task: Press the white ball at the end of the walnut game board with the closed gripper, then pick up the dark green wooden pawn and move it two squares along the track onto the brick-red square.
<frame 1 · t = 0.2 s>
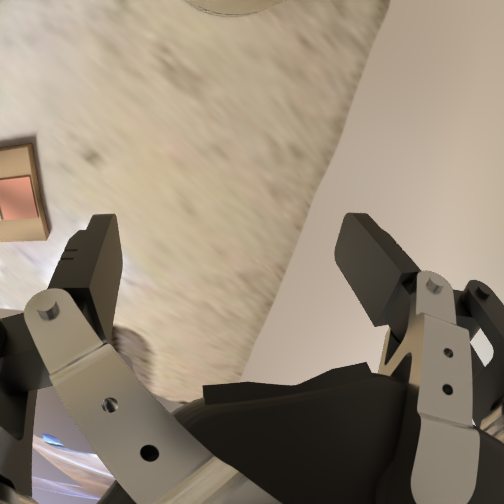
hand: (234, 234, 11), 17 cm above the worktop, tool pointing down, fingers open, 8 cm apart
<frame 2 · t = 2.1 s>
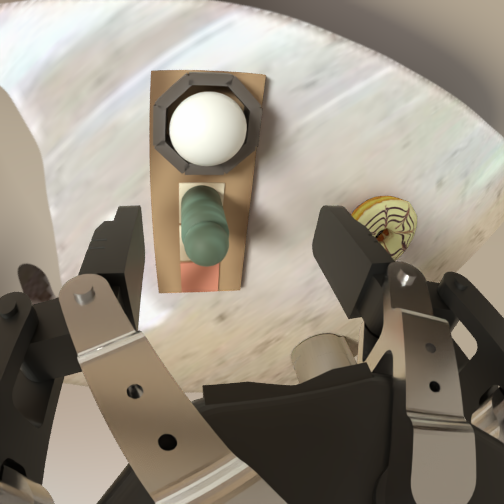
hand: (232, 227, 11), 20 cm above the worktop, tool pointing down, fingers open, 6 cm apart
game board: (200, 193, 31), on the worktop
pawn: (201, 203, 30), point 1 cm above the worktop, touching game board
decorated donut: (372, 225, 38), on the worktop
white ball: (207, 128, 23), point 5 cm above the worktop, slide at 0.0 cm
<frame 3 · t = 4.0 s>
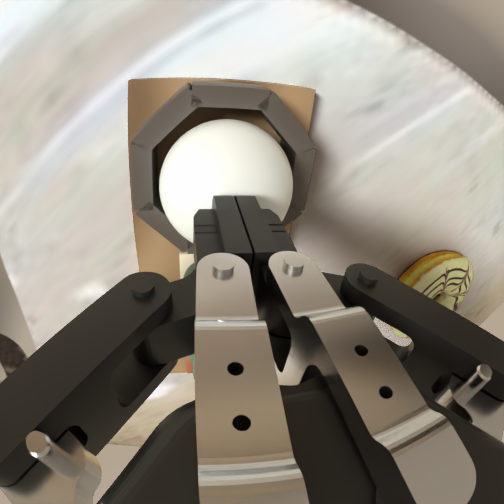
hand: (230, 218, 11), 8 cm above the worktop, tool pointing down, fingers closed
game board: (210, 263, 22), on the worktop
decorated donut: (421, 282, 29), on the worktop
white ball: (225, 184, 14), point 5 cm above the worktop, slide at 0.3 cm, touching gripper
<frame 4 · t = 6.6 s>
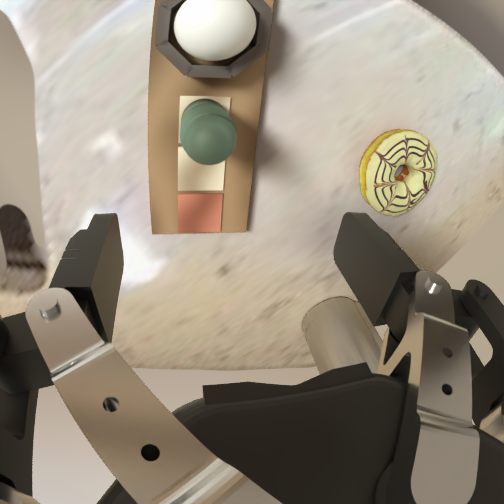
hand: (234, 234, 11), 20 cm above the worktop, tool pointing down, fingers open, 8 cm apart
game board: (203, 112, 26), on the worktop
pawn: (203, 120, 25), point 1 cm above the worktop, touching game board
decorated donut: (390, 165, 33), on the worktop
white ball: (215, 24, 18), point 5 cm above the worktop, slide at 0.3 cm
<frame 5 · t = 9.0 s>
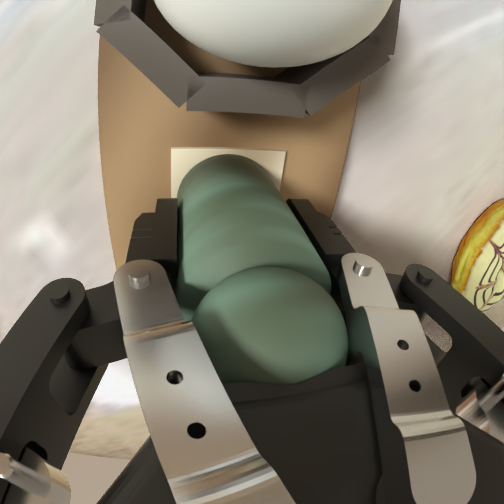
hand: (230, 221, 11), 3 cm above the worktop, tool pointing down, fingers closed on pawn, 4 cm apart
game board: (223, 178, 13), on the worktop
pawn: (226, 200, 12), point 1 cm above the worktop, touching game board, gripper
decorated donut: (485, 242, 21), on the worktop
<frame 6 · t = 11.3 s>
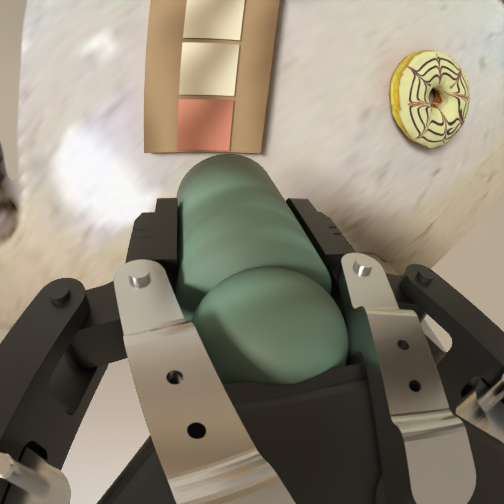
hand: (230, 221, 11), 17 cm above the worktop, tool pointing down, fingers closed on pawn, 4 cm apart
game board: (213, 9, 19), on the worktop
pawn: (226, 200, 12), point 15 cm above the worktop, touching gripper
decorated donut: (420, 94, 26), on the worktop
when the fingers open (4 cm above the worktop, at t = 13.9 s): pawn drops 1 cm, resting on game board.
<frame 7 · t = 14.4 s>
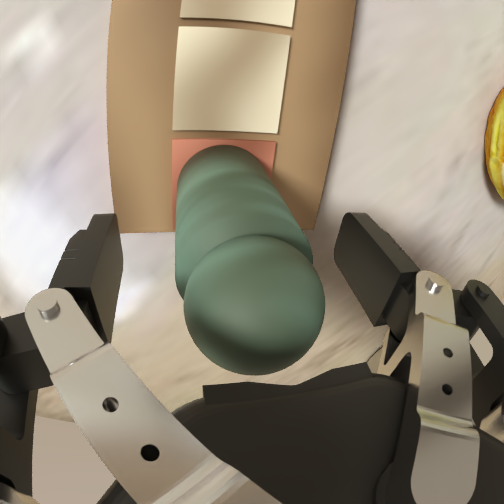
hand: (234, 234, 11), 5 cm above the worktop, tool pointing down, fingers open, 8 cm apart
pawn: (222, 187, 14), point 1 cm above the worktop, touching game board
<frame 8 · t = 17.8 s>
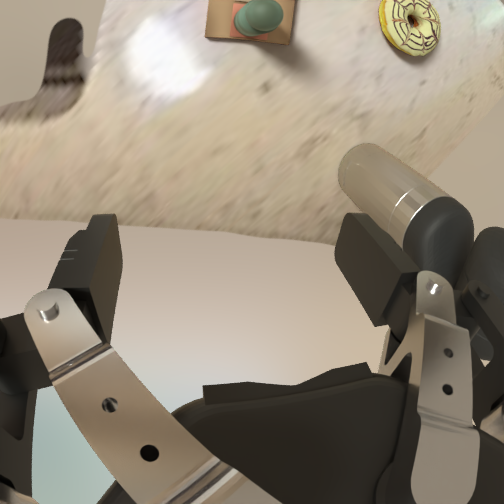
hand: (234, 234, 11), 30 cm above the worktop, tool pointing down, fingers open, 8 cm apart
pawn: (250, 21, 28), point 1 cm above the worktop, touching game board
decorated donut: (402, 22, 31), on the worktop
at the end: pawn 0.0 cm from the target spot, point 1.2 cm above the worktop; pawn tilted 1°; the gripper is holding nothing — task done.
